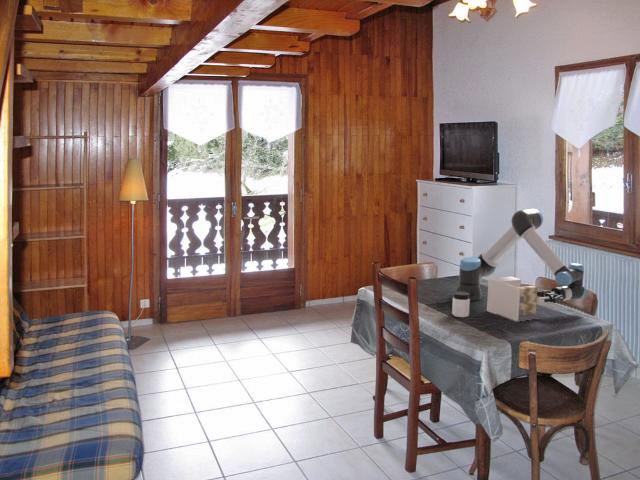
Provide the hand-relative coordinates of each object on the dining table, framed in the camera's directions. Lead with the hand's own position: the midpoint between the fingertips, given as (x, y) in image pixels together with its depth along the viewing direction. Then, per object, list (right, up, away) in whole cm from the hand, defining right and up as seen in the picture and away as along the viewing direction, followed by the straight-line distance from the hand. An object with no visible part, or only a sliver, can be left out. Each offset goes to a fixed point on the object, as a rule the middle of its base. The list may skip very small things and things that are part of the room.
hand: (529, 297), depth 332 cm
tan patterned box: (-3, -10, +1) cm, 11 cm away
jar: (-35, -10, +6) cm, 37 cm away
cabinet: (-7, -10, +8) cm, 14 cm away
